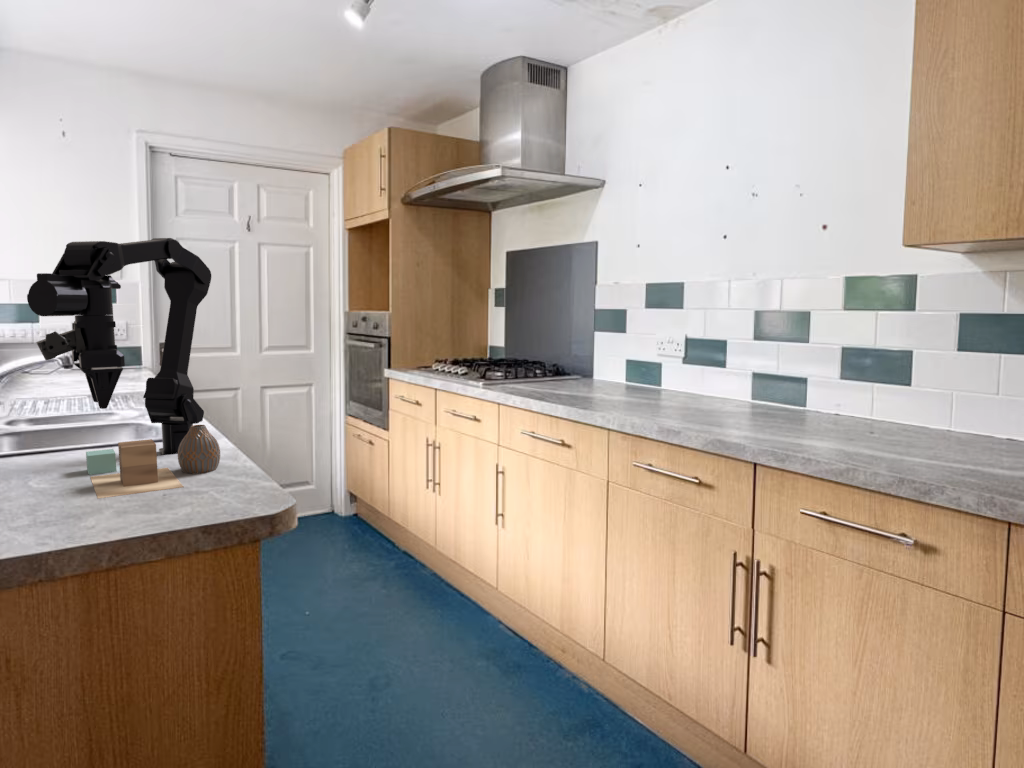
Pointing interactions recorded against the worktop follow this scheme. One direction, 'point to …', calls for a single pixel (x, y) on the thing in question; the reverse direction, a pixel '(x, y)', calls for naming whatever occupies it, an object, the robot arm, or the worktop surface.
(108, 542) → the worktop surface
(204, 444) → the vase
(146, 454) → the tower top
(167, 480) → the beech board
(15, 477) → the worktop surface
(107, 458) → the cube
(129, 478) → the tower base
